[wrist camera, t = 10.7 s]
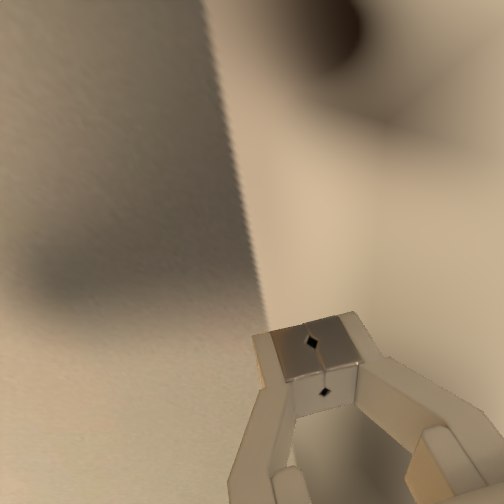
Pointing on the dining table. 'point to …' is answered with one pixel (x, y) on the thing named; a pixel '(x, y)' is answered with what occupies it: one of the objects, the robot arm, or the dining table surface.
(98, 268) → the dining table surface
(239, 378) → the dining table surface
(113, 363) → the dining table surface
